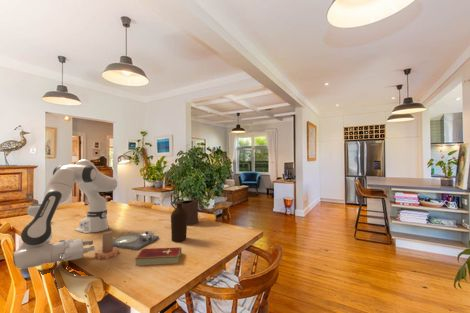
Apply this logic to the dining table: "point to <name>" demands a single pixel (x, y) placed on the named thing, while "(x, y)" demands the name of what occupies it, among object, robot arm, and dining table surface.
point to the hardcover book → (158, 256)
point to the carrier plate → (134, 240)
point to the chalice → (33, 210)
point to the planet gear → (107, 247)
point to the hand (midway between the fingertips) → (93, 245)
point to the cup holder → (190, 210)
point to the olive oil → (178, 223)
